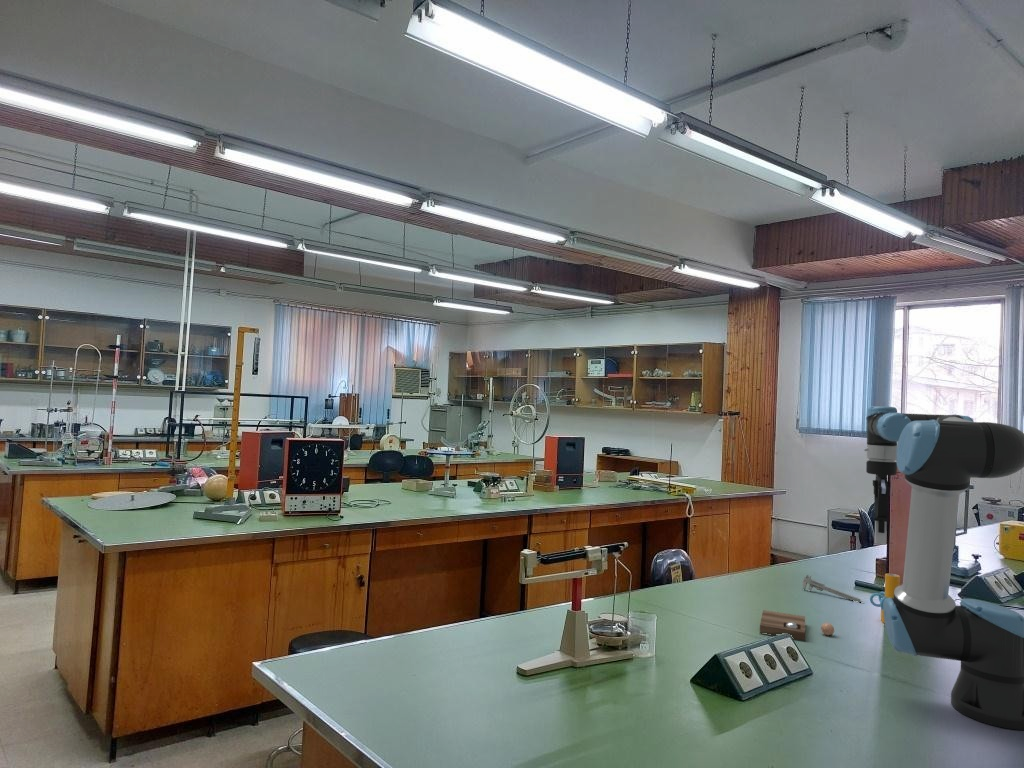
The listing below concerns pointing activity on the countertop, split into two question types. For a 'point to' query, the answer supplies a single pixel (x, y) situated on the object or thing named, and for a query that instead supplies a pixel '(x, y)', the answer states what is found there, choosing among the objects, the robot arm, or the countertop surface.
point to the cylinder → (886, 591)
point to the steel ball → (791, 625)
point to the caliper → (826, 588)
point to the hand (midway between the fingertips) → (880, 543)
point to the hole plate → (782, 624)
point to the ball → (827, 629)
